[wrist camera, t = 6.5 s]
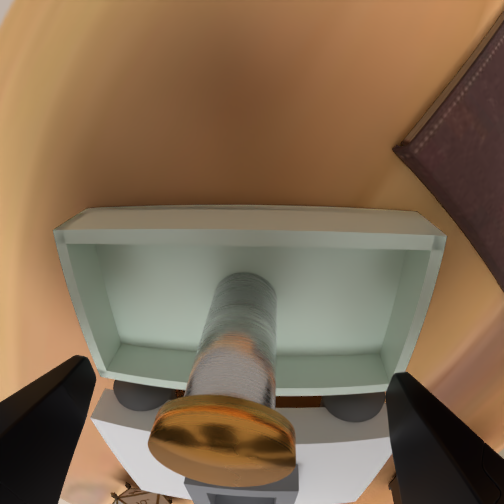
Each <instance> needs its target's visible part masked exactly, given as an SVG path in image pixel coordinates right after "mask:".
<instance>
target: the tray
mask: <svg viewBox="0 0 504 504" xmlns="http://www.w3.org/2000/svg"><path fill="white" fill-rule="evenodd" d="M53 233H54V238H55V242H56V246H57V251H58V255H59V258H60V262H61V266H62V270H63V273H64V277H65V280H66V284H67V287H68V291H69V294H70V297H71V300H72V303H73V306H74V309H75V312H76V315H77V318H78V321H79V324H80V327H81V329H82V332H83V335H84V337H85V340H86V343H87V345H88V348H89V350H90V353H91V355H92V358H93V360H94V363H95V365H96V367H97V370H98V372H99V374H100V376H101V377H105V378H110V379H115V380H120V381H126V382H132V383H138V384H144V385H150V386H157V387H164V388H172V389H180V390H186V387H187V383H188V380H189V376H190V373H191V369H192V366H193V363H194V359H195V356H196V352H197V349H198V346H199V342H200V339H201V336H202V332H203V329H204V326H205V322H206V319H207V316H208V312H209V309H210V306H211V303H212V299H213V296H214V293H215V290H216V287H217V285H218V284H219V282H220V281H221V280H222V279H224V278H225V277H227V276H229V275H231V274H234V273H239V272H249V273H254V274H257V275H259V276H261V277H263V278H265V279H266V280H267V281H268V282H269V283H270V284H271V285H272V286H273V288H274V290H275V292H276V296H277V339H276V396H324V395H346V394H361V393H374V392H384V391H386V390H387V388H388V386H389V383H390V381H391V378H392V376H393V374H394V373H398V372H405V370H406V368H407V366H408V363H409V361H410V358H411V356H412V353H413V350H414V348H415V345H416V342H417V340H418V337H419V334H420V331H421V328H422V325H423V323H424V320H425V317H426V313H427V310H428V307H429V304H430V301H431V297H432V294H433V291H434V287H435V284H436V280H437V276H438V273H439V269H440V265H441V261H442V257H443V253H444V248H445V244H446V239H447V236H446V235H445V234H444V233H443V232H442V231H440V230H439V229H438V228H437V227H436V226H434V225H433V224H432V223H431V222H429V221H428V220H427V219H426V218H424V217H423V216H422V215H421V214H419V213H418V212H417V211H402V210H386V209H368V208H348V207H323V206H289V205H156V206H123V207H98V208H87V209H85V210H83V211H82V212H80V213H79V214H77V215H75V216H74V217H72V218H71V219H69V220H68V221H66V222H64V223H63V224H61V225H60V226H58V227H57V228H55V229H54V230H53Z"/></svg>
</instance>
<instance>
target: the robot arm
mask: <svg viewBox="0 0 504 504" xmlns="http://www.w3.org/2000/svg"><path fill="white" fill-rule="evenodd" d="M95 383H96V375H95V372H94V370H93V368H92V366H91V363H90V361H89V359H88V358H87V357H85V356H80V355H75V356H73V357H71V358H70V359H68V360H67V361H65V362H63V363H62V364H60V365H59V366H57V367H56V368H54V369H52V370H51V371H49V372H48V373H46V374H44V375H43V376H41V377H40V378H38V379H36V380H35V381H33V382H32V383H30V384H29V385H27V386H25V387H24V388H22V389H21V390H19V391H17V392H16V393H14V394H13V395H11V396H10V397H8V398H6V399H5V400H3V401H2V402H0V504H58V501H59V498H60V495H61V491H62V488H63V485H64V481H65V478H66V475H67V472H68V469H69V466H70V463H71V460H72V457H73V454H74V451H75V448H76V446H77V443H78V440H79V437H80V434H81V432H82V429H83V426H84V423H85V420H86V417H87V413H88V409H89V405H90V401H91V398H92V394H93V391H94V387H95ZM385 399H386V407H387V416H388V426H389V436H390V444H391V449H392V454H393V459H394V464H395V469H396V474H397V476H396V477H395V479H394V480H393V481H392V482H391V483H390V484H389V486H388V487H389V490H391V491H392V496H393V501H394V504H504V459H503V458H502V457H501V456H500V455H499V454H497V453H496V452H495V451H494V450H493V449H492V448H491V447H490V446H489V445H487V444H486V443H484V441H483V440H482V439H481V438H480V437H479V436H478V435H477V434H475V433H474V432H473V431H472V430H471V429H470V428H469V427H468V426H467V425H466V424H465V423H463V422H462V421H461V420H460V419H459V418H458V417H457V416H456V415H455V414H454V413H453V412H451V411H450V410H449V409H448V408H447V407H446V406H445V405H444V404H443V403H442V402H440V401H439V400H438V399H437V398H436V397H435V396H434V395H433V394H432V393H431V392H429V391H428V390H427V389H426V388H425V387H424V386H423V385H422V384H421V383H420V382H418V381H417V380H416V379H415V378H414V377H413V376H412V375H411V374H409V373H408V372H398V373H394V374H393V376H392V378H391V381H390V383H389V386H388V388H387V390H386V395H385Z"/></svg>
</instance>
